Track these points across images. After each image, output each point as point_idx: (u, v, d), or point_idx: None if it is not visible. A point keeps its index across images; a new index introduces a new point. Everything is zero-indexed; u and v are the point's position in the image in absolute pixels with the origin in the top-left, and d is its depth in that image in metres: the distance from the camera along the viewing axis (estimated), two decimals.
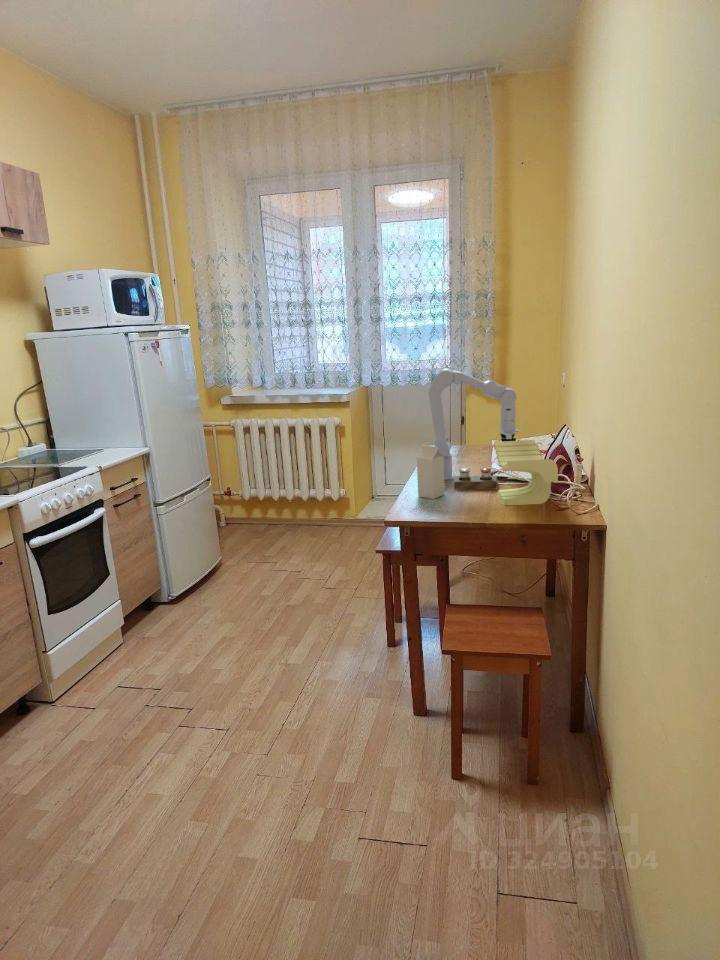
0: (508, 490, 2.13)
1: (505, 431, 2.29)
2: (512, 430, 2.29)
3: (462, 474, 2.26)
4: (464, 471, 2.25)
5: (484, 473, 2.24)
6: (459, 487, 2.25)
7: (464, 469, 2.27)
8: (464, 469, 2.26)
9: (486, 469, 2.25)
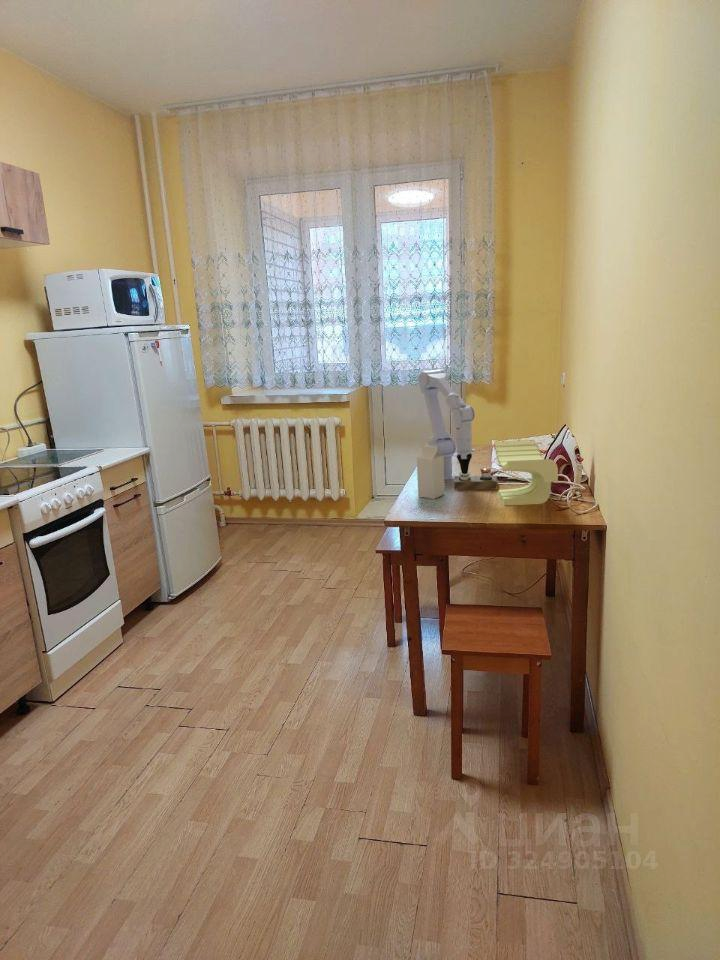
0: (508, 490, 2.13)
1: (461, 451, 2.23)
2: (468, 449, 2.22)
3: (462, 478, 2.27)
4: (464, 475, 2.26)
5: (484, 473, 2.24)
6: (459, 487, 2.25)
7: (464, 473, 2.27)
8: (464, 473, 2.27)
9: (486, 469, 2.25)
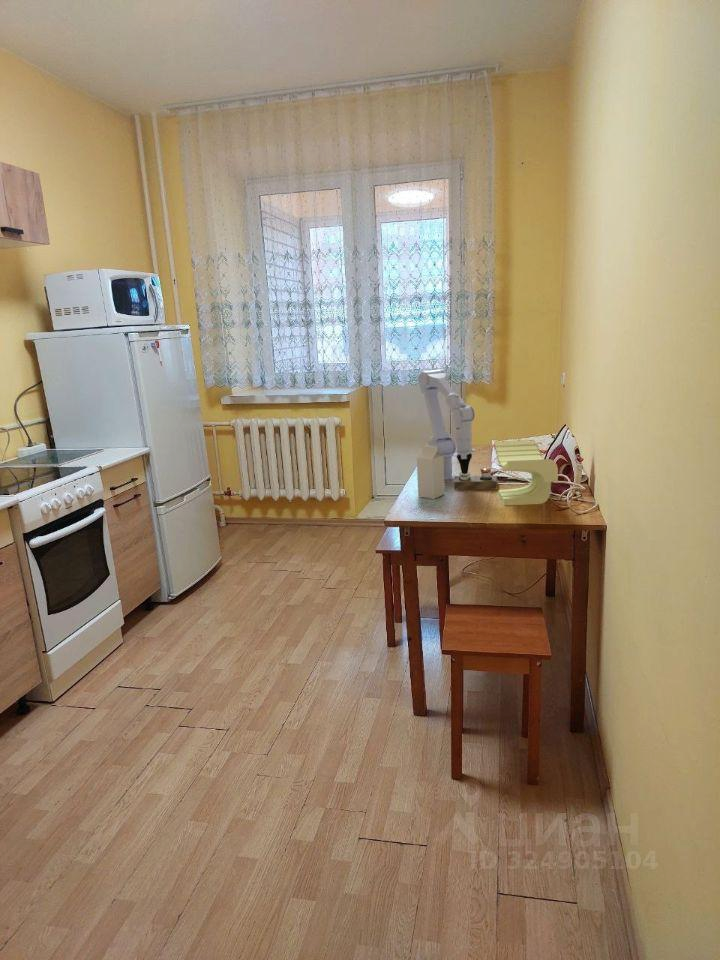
0: (508, 490, 2.13)
1: (461, 450, 2.23)
2: (468, 449, 2.22)
3: (462, 478, 2.27)
4: (464, 475, 2.26)
5: (484, 473, 2.24)
6: (459, 487, 2.25)
7: (464, 473, 2.27)
8: (464, 473, 2.27)
9: (486, 469, 2.25)
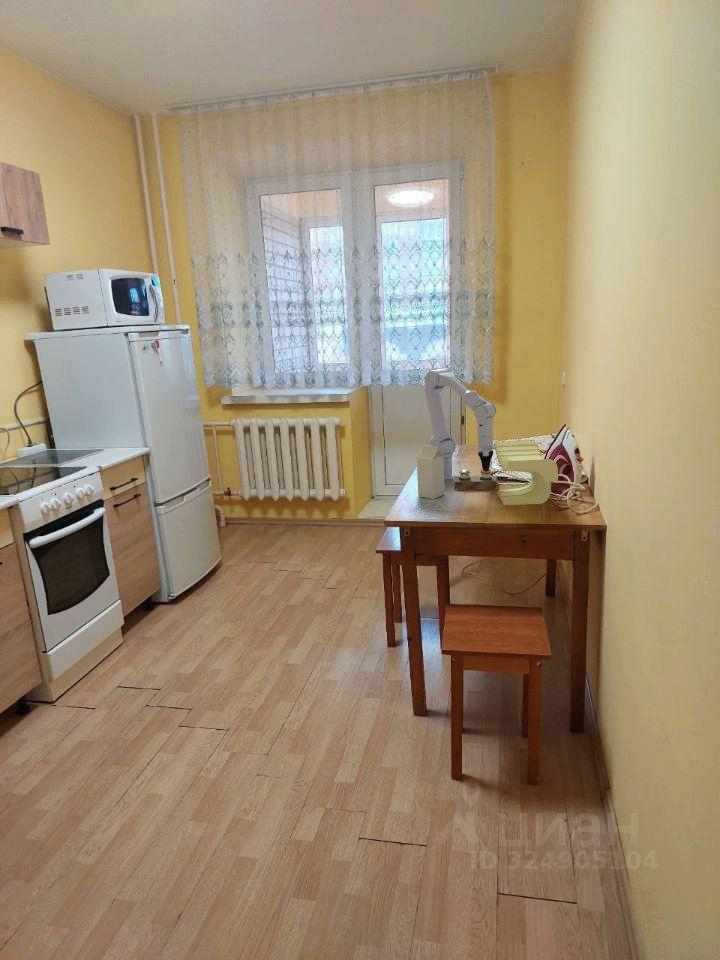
0: (508, 490, 2.13)
1: (482, 447, 2.21)
2: (489, 446, 2.20)
3: (462, 475, 2.26)
4: (464, 472, 2.25)
5: (484, 474, 2.24)
6: (459, 487, 2.25)
7: (464, 470, 2.27)
8: (464, 471, 2.27)
9: None
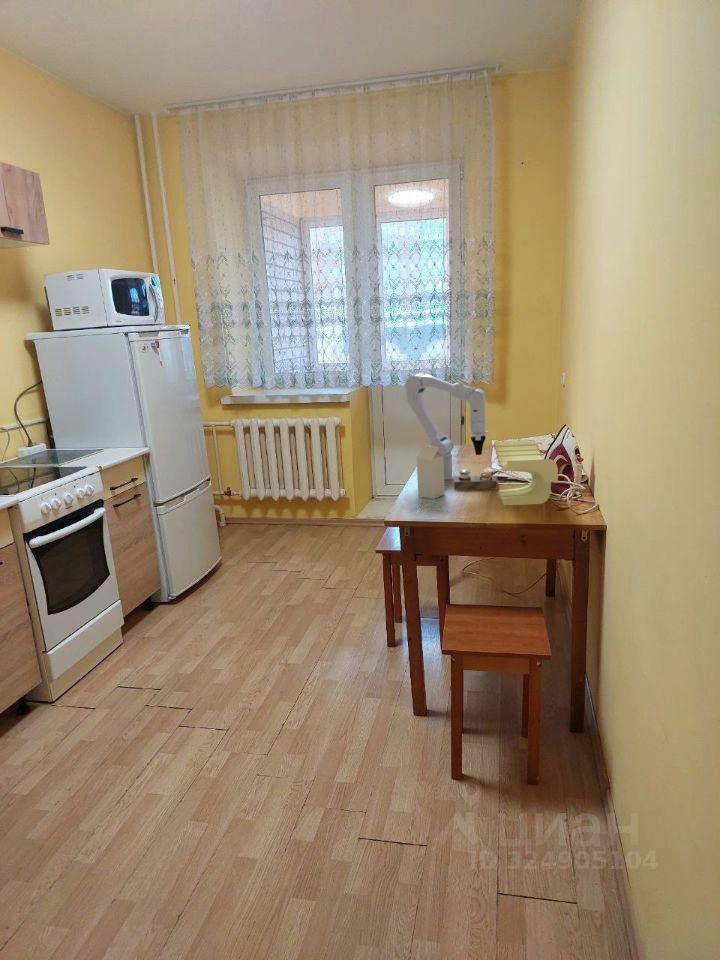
0: (508, 490, 2.13)
1: (475, 432, 2.29)
2: (482, 431, 2.28)
3: (462, 475, 2.26)
4: (464, 472, 2.25)
5: (484, 478, 2.25)
6: (459, 487, 2.25)
7: (464, 470, 2.27)
8: (464, 471, 2.27)
9: (486, 474, 2.25)
